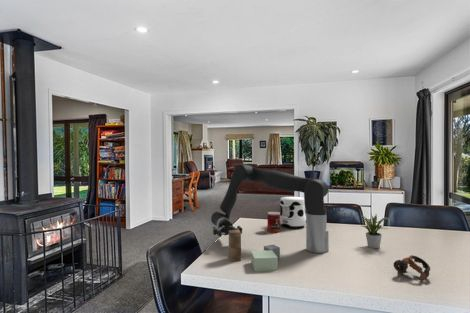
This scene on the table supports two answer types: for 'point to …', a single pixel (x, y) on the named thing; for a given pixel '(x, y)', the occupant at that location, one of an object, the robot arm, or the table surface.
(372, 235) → the house plant
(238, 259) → the walnut post
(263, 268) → the sage block
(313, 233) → the robot arm
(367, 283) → the table surface
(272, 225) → the canned food
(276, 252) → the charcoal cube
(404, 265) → the brown arched piece
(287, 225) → the milk container
